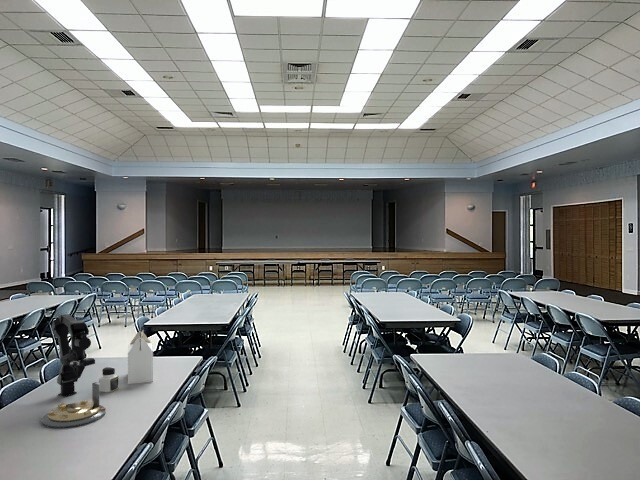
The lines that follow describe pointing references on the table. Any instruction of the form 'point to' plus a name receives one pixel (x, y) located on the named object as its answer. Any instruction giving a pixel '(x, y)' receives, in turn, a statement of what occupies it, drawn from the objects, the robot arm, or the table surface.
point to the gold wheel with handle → (77, 408)
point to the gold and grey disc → (53, 424)
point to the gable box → (140, 359)
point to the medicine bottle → (108, 380)
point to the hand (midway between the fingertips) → (78, 378)
